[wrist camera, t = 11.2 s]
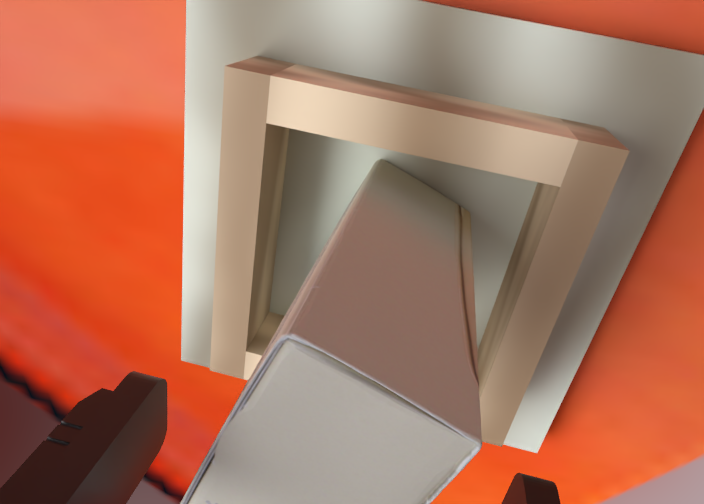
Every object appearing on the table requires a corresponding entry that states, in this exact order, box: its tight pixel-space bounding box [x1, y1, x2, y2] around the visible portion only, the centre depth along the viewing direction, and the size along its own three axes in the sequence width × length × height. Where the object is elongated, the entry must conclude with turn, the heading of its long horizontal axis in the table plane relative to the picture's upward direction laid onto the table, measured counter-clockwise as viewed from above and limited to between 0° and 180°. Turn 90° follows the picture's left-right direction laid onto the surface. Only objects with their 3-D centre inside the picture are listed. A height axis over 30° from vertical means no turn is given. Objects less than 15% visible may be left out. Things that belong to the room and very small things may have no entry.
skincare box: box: [180, 159, 482, 504], centre depth 16 cm, size 6×4×12 cm
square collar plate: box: [181, 0, 704, 453], centre depth 20 cm, size 18×18×4 cm
